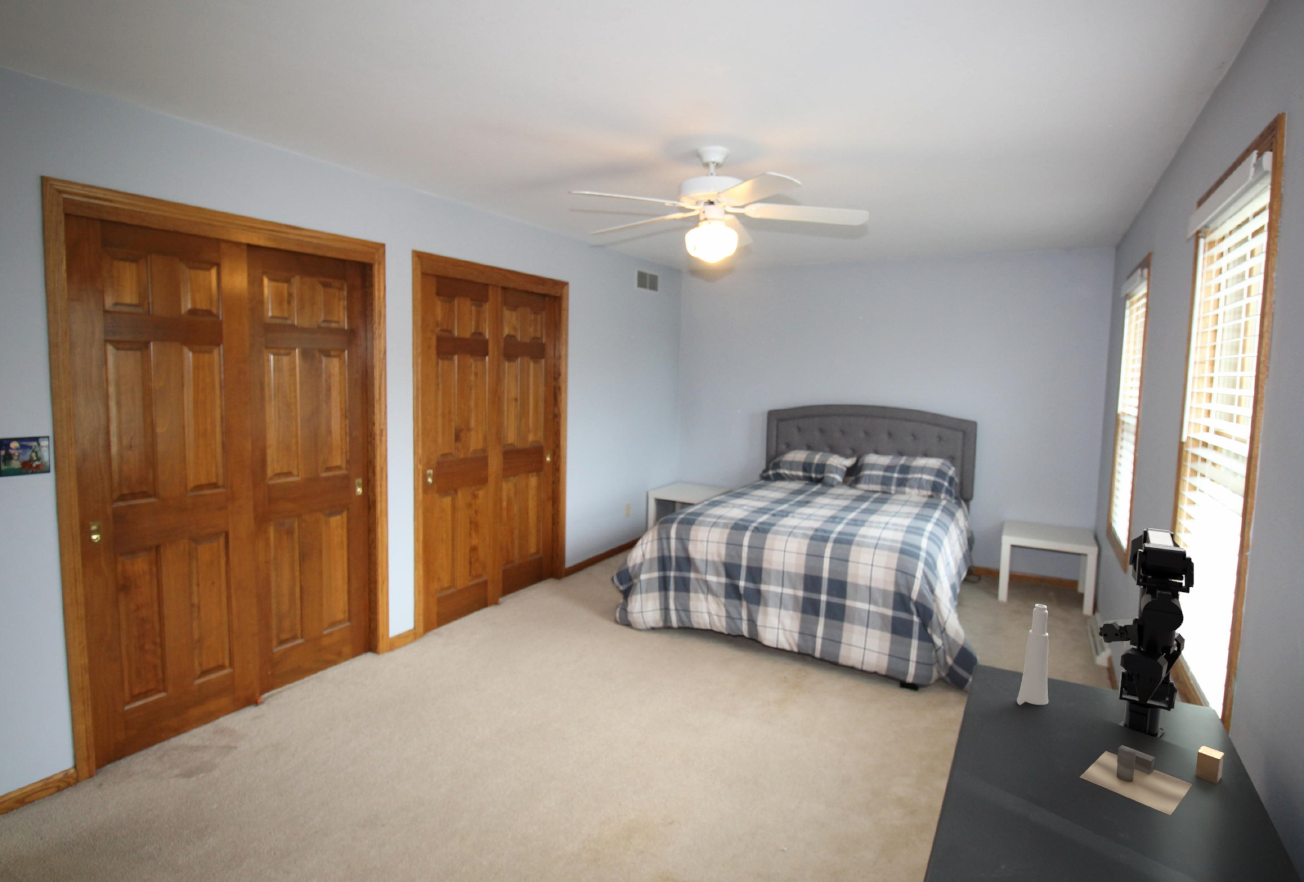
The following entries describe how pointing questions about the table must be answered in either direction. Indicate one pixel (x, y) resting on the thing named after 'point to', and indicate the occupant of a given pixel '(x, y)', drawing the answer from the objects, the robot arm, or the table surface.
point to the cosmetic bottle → (1036, 661)
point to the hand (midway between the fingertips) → (1148, 694)
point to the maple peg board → (1137, 779)
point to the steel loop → (1209, 764)
